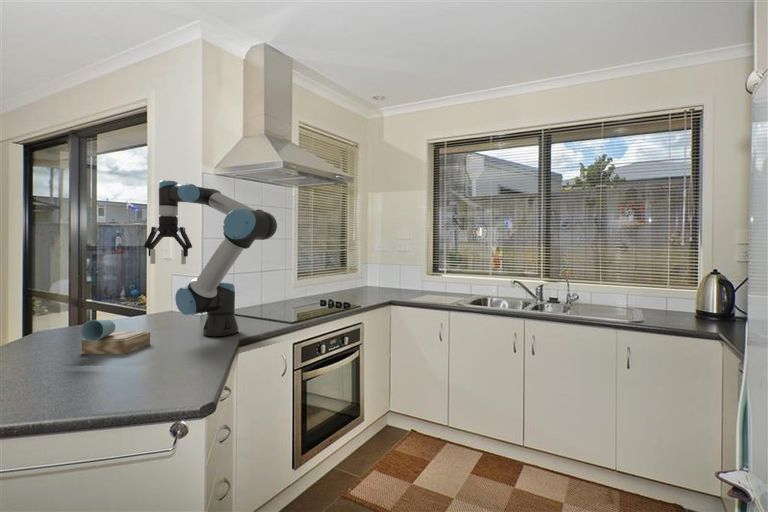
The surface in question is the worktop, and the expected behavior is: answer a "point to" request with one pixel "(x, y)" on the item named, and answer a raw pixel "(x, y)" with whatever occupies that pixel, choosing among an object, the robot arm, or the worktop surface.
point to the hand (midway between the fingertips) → (168, 264)
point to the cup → (97, 329)
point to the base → (117, 343)
